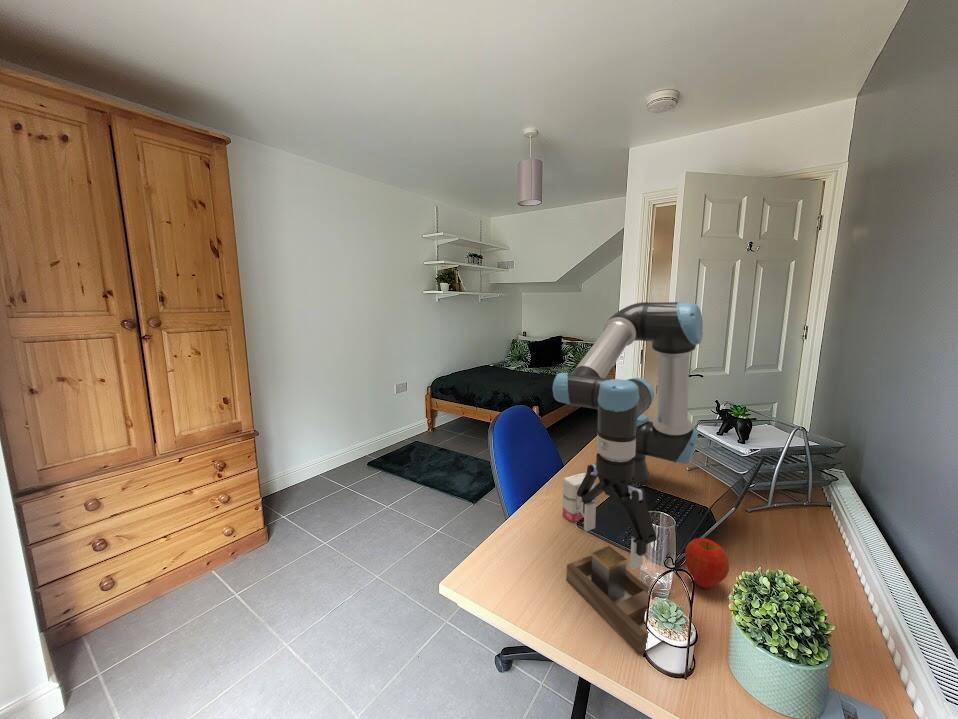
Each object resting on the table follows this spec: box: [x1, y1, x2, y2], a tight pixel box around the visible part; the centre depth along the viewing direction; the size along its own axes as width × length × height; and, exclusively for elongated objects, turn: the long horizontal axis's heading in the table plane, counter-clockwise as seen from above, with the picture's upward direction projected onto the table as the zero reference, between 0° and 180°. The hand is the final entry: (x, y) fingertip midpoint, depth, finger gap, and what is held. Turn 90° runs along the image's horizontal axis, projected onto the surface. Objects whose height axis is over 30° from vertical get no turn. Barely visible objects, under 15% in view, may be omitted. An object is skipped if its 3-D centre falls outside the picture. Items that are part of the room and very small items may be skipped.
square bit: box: [591, 545, 628, 602], centre depth 84 cm, size 5×5×9 cm
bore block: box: [565, 554, 662, 656], centre depth 82 cm, size 11×21×4 cm, turn 26°
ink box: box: [562, 472, 597, 523], centre depth 114 cm, size 9×5×12 cm, turn 116°
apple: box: [684, 537, 730, 589], centre depth 86 cm, size 9×8×11 cm
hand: (611, 546), depth 83 cm, fingers open, 13 cm apart
